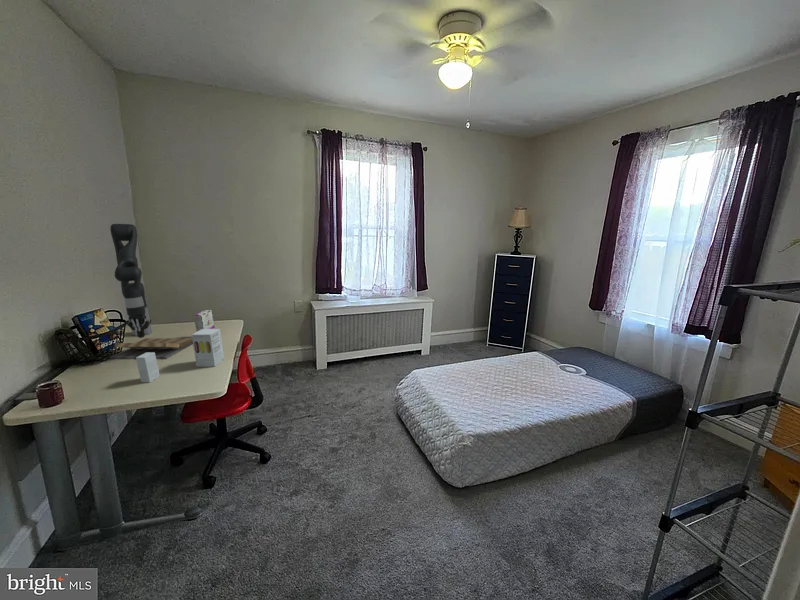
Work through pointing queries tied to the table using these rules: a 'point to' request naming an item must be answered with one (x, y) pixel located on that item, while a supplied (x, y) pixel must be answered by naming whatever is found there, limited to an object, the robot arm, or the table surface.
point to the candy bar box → (204, 320)
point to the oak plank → (147, 345)
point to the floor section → (159, 352)
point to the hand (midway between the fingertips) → (141, 337)
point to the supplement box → (208, 347)
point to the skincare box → (147, 367)
